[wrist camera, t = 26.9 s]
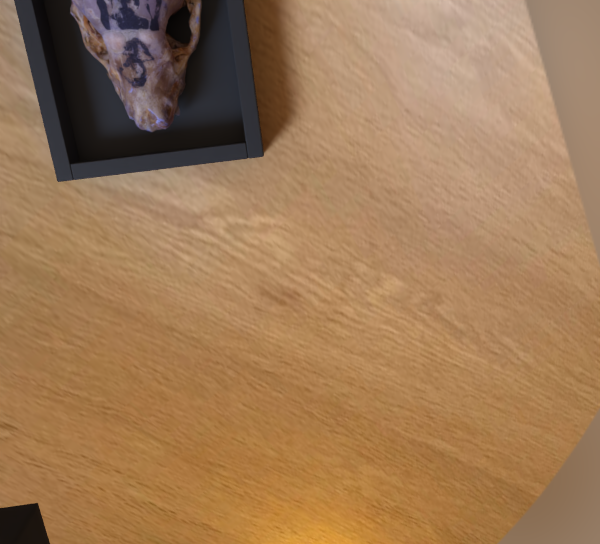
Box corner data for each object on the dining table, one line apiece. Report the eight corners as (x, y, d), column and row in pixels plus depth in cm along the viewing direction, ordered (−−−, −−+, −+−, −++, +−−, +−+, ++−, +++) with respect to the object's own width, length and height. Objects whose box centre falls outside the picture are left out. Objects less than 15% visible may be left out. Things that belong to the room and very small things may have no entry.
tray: (225, -138, 32) (222, -159, 30) (263, 153, 37) (263, 156, 34) (3, -115, 32) (-19, -134, 29) (71, 177, 37) (57, 181, 34)
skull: (205, 135, 35) (178, 131, 29) (90, 129, 36) (39, 125, 30) (208, -72, 33) (178, -122, 27) (83, -75, 33) (26, -125, 27)
